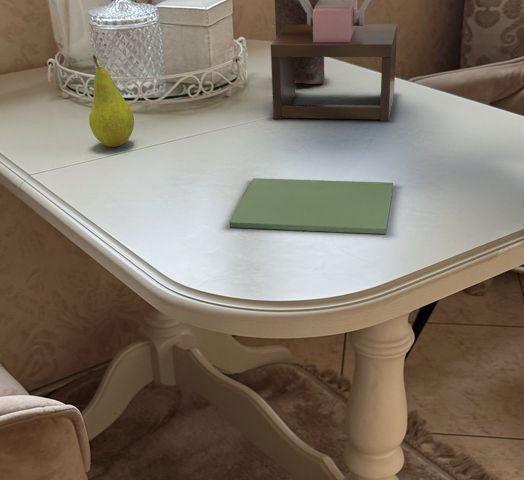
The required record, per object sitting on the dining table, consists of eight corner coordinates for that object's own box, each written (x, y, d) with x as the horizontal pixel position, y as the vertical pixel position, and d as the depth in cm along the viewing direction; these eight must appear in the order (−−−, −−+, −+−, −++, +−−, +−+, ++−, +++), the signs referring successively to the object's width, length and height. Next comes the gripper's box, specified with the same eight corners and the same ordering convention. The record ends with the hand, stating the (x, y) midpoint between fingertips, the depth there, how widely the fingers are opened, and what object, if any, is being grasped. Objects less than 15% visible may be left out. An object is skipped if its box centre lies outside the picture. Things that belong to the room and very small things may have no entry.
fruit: (133, 135, 107) (120, 43, 101) (140, 149, 103) (127, 54, 96) (91, 141, 106) (75, 48, 100) (96, 156, 102) (80, 59, 95)
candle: (290, 92, 121) (286, -53, 110) (268, 81, 126) (262, -58, 115) (333, 83, 124) (333, -59, 112) (309, 73, 129) (307, -64, 118)
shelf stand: (394, 95, 117) (397, 23, 112) (388, 121, 108) (391, 44, 102) (287, 93, 120) (285, 24, 115) (273, 119, 111) (270, 44, 105)
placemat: (392, 187, 89) (393, 182, 88) (385, 234, 79) (385, 228, 79) (253, 182, 92) (253, 178, 91) (230, 227, 82) (229, 222, 82)
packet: (357, 25, 112) (357, -6, 110) (349, 42, 104) (350, 9, 102) (322, 25, 113) (322, -5, 111) (312, 42, 105) (312, 9, 103)
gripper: (251, -85, 99) (256, 30, 107) (416, -91, 96) (409, 30, 103) (260, -91, 105) (265, 20, 112) (418, -96, 101) (411, 19, 108)
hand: (335, 25), depth 108 cm, fingers closed on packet, 5 cm apart
